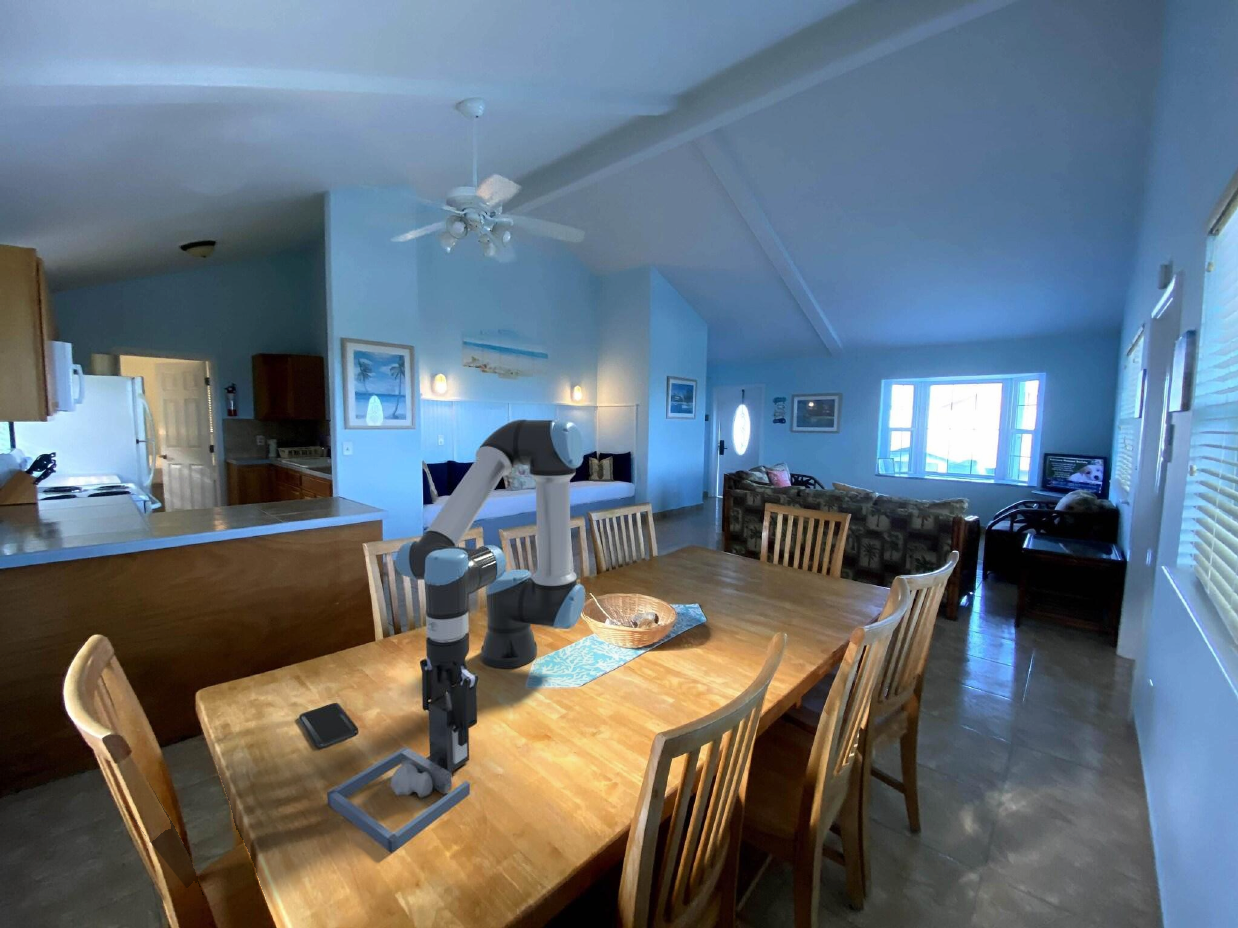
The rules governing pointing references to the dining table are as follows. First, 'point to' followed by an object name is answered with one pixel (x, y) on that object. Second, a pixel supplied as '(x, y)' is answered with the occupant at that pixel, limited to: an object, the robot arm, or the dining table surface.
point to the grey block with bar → (438, 746)
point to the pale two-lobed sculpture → (411, 781)
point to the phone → (328, 725)
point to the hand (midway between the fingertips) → (449, 753)
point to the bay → (372, 826)
